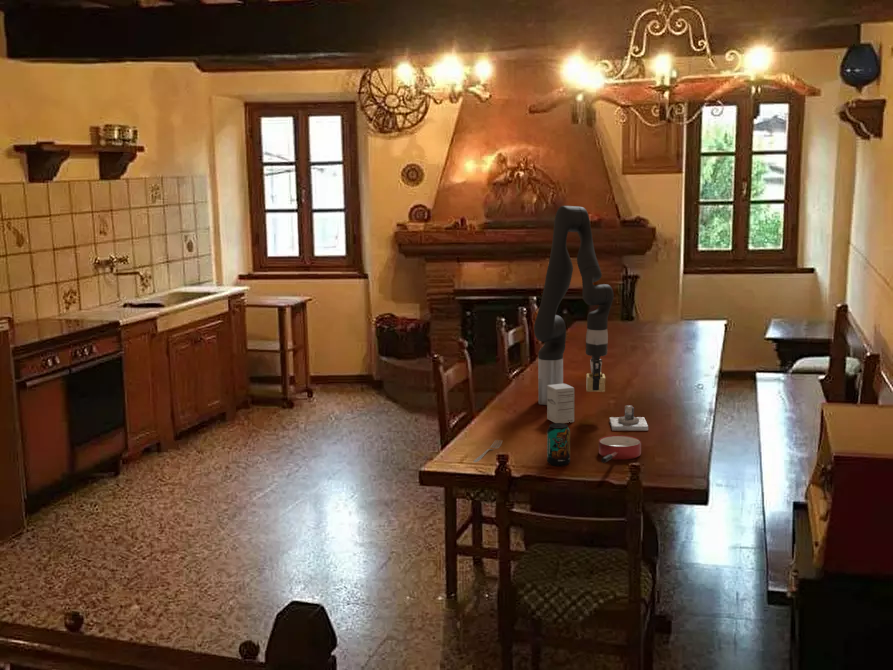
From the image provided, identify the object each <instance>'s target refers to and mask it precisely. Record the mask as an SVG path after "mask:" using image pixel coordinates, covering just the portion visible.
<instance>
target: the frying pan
mask: <svg viewBox="0 0 893 670" xmlns="http://www.w3.org/2000/svg"><path fill="white" fill-rule="evenodd" d="M598 454H599V456H601V457H602V458H601V459H600V461H601V463H602V464H605V463H607V462H609V461H610V460H616V461H617V460H618V461H620V460H621V461H624V460H625V461H626V460H633V459H636V458H638V457H640V456H641V454H642V440H641V439H640V438H639V437H636V436H631V435H625V434H624V435H621V434H612V435H605V436H602V437H600V438H599V439H598Z"/></svg>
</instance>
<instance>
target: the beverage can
mask: <svg viewBox="0 0 893 670" xmlns="http://www.w3.org/2000/svg"><path fill="white" fill-rule="evenodd" d="M546 462H547V464H549V465H550V466H552V467H566V466H568V465H569V464H570V462H571V430H570V428H569V425H568V424H567V423H554V422H552V423H550V424H549V425H548V428H547V430H546Z"/></svg>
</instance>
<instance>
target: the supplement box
mask: <svg viewBox="0 0 893 670" xmlns="http://www.w3.org/2000/svg"><path fill="white" fill-rule="evenodd" d="M546 407H547V409H546V413H547V414H546V417H547V418H546V419H547V420H549V422H550V421H551V422H552V423H563V424H567V423H569V422H570V423H574V422H575V387H573V386H571V385H569V384H567V383H564V382H563V383H562V384H553V385H547V405H546Z"/></svg>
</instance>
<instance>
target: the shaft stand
mask: <svg viewBox="0 0 893 670" xmlns="http://www.w3.org/2000/svg"><path fill="white" fill-rule="evenodd" d="M609 424H610V427H611V431H612V432H614V431H617V432H620V431H622V432H623V431H624V432H629V431H633V432H634V431H635V432H636V431H638V432H640V431H642V432H643V431H645V432H646V431H649V424H648V423H647V420H646V419H645V417H644V416H642V417H641V416H637V417H635V407H633V405H629V404H628V405H624V416H619V417H618V416H617V417H616V416H615V417H614V416H611V417H609Z"/></svg>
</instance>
